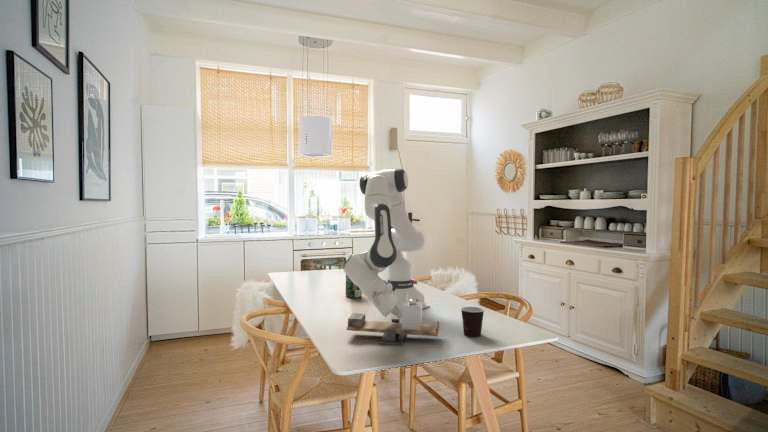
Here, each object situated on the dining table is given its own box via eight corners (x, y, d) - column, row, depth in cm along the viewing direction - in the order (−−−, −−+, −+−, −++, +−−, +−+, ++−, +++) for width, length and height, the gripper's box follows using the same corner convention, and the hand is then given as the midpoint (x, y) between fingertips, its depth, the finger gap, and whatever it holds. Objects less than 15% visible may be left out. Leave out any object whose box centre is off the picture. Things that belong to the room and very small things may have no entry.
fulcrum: (379, 344, 152) (379, 329, 151) (386, 331, 167) (386, 317, 167) (401, 345, 150) (401, 330, 150) (406, 332, 166) (406, 318, 166)
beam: (346, 330, 157) (346, 319, 156) (352, 322, 166) (353, 312, 166) (437, 336, 151) (438, 324, 151) (438, 328, 161) (439, 317, 161)
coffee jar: (343, 295, 233) (343, 262, 232) (356, 294, 236) (356, 261, 236) (350, 299, 224) (350, 264, 224) (363, 297, 228) (363, 263, 227)
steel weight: (401, 329, 154) (401, 301, 154) (403, 324, 161) (404, 297, 161) (420, 330, 153) (420, 302, 153) (421, 325, 160) (422, 298, 160)
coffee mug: (479, 339, 157) (479, 313, 157) (457, 335, 162) (457, 310, 161) (489, 331, 167) (489, 307, 167) (468, 328, 171) (468, 304, 171)
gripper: (376, 289, 149) (403, 318, 147) (386, 279, 169) (409, 304, 167) (364, 301, 150) (391, 330, 148) (375, 290, 170) (398, 315, 168)
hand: (401, 316), depth 158 cm, fingers closed, pressing on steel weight
